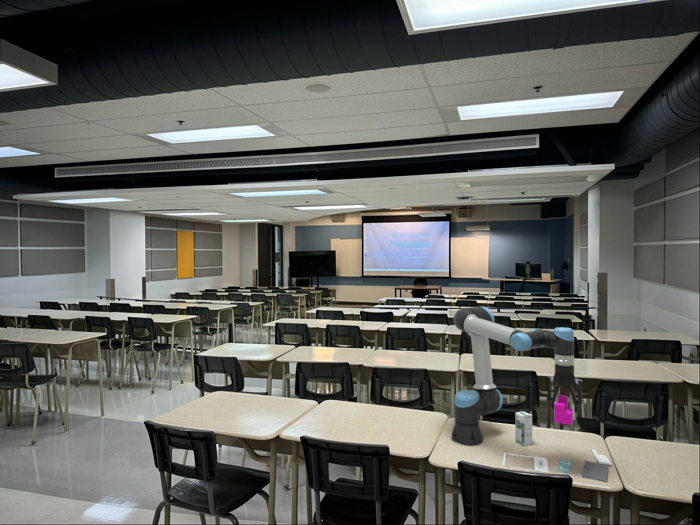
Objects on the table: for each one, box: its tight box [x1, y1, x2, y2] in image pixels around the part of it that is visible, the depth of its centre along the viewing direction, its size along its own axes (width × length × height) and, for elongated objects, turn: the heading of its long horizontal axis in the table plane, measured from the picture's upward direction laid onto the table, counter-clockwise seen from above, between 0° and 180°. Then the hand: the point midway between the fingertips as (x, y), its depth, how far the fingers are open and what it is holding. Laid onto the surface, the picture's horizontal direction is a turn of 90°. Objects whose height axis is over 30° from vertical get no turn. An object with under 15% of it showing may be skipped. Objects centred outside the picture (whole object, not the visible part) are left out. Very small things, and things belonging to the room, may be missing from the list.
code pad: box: [556, 458, 574, 474], centre depth 198 cm, size 5×13×1 cm, turn 149°
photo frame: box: [502, 452, 549, 474], centre depth 202 cm, size 15×1×18 cm
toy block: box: [554, 394, 573, 426], centre depth 198 cm, size 15×6×8 cm, turn 150°
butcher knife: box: [590, 448, 613, 466], centre depth 206 cm, size 5×15×1 cm, turn 164°
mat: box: [581, 460, 610, 483], centre depth 193 cm, size 9×17×1 cm, turn 149°
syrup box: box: [514, 411, 533, 447], centre depth 223 cm, size 6×6×14 cm
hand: (564, 417), depth 198 cm, fingers closed on toy block, 6 cm apart
